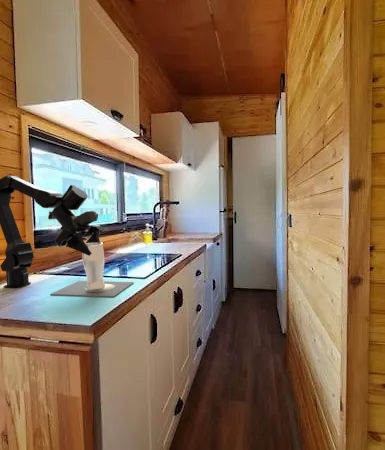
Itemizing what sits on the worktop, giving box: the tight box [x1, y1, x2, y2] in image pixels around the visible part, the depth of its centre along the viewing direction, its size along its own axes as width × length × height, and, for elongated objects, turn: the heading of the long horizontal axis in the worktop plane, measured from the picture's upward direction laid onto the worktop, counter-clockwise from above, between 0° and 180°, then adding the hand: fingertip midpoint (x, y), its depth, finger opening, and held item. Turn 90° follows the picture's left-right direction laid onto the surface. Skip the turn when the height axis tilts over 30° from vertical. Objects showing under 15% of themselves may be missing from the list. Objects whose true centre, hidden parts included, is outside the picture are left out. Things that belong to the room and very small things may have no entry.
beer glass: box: [81, 241, 105, 290], centre depth 102 cm, size 7×7×15 cm
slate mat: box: [49, 280, 134, 298], centre depth 106 cm, size 22×18×1 cm
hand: (96, 253), depth 101 cm, fingers closed on beer glass, 6 cm apart
